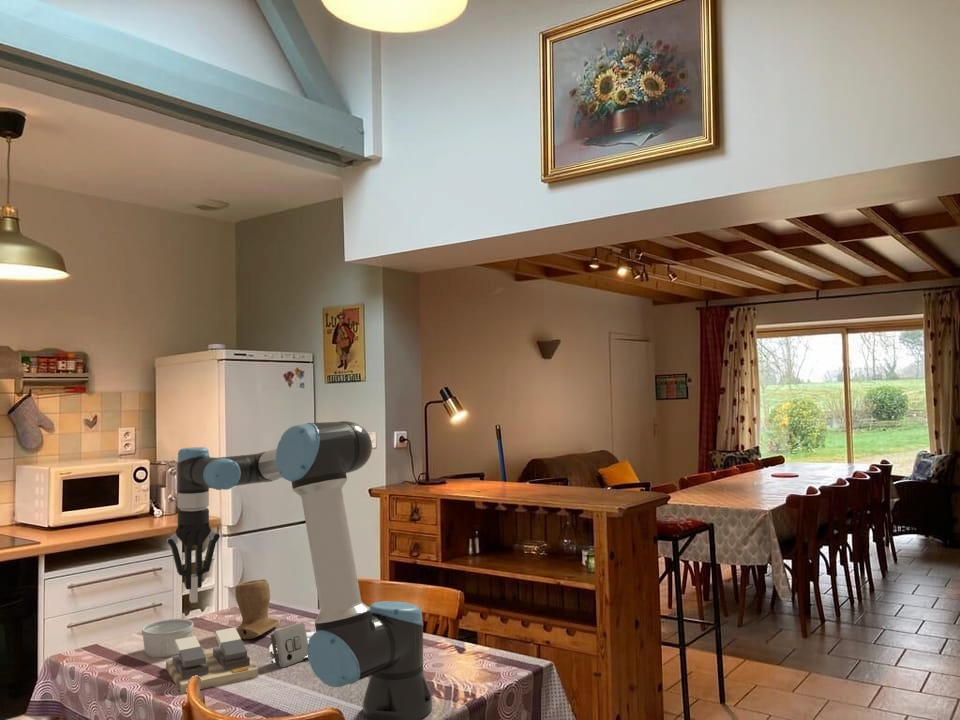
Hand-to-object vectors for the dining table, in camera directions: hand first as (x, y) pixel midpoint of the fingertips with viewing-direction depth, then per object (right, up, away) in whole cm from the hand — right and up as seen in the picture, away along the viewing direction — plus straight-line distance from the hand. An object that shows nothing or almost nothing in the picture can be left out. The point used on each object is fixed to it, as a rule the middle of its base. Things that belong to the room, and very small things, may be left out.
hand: (193, 601), depth 198 cm
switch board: (+5, -18, -2) cm, 18 cm away
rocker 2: (+9, -12, +1) cm, 15 cm away
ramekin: (-13, -19, +16) cm, 27 cm away
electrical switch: (+23, -18, +5) cm, 30 cm away
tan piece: (+7, -19, +30) cm, 36 cm away
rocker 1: (+1, -12, -4) cm, 13 cm away
